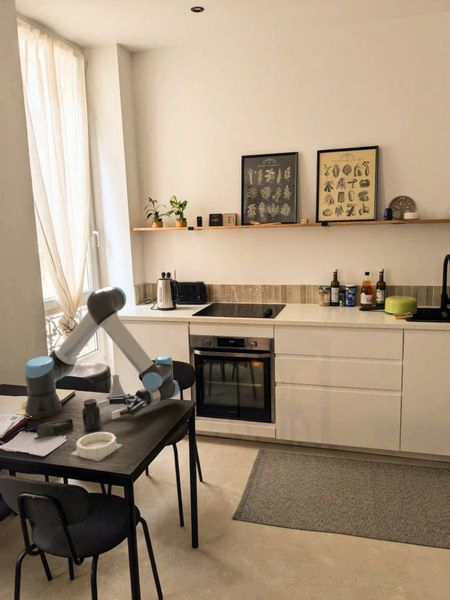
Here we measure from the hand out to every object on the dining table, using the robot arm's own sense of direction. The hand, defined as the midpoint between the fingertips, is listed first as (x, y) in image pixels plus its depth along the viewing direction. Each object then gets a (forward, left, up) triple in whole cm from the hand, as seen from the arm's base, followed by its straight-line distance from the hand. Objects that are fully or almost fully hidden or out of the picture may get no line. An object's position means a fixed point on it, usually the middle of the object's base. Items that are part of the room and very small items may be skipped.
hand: (103, 411), depth 190 cm
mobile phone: (-14, -13, -7) cm, 20 cm away
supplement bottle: (-2, -4, -7) cm, 8 cm away
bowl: (+12, -17, -6) cm, 22 cm away
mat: (+12, -17, -6) cm, 22 cm away
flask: (-18, +30, -7) cm, 35 cm away
